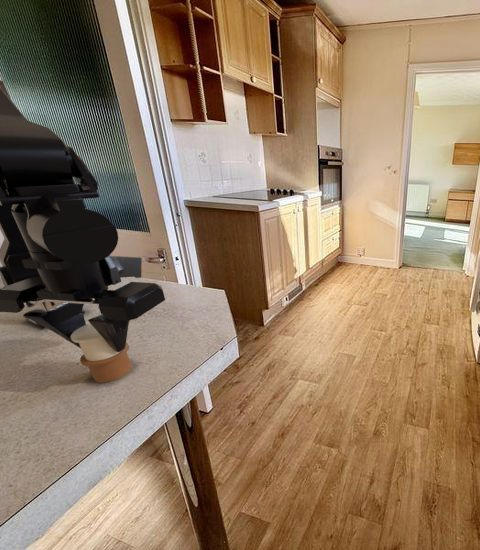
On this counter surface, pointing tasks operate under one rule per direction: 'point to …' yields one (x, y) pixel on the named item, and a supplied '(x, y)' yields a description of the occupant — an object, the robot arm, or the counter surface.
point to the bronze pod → (109, 366)
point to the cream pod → (92, 343)
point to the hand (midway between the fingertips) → (104, 348)
